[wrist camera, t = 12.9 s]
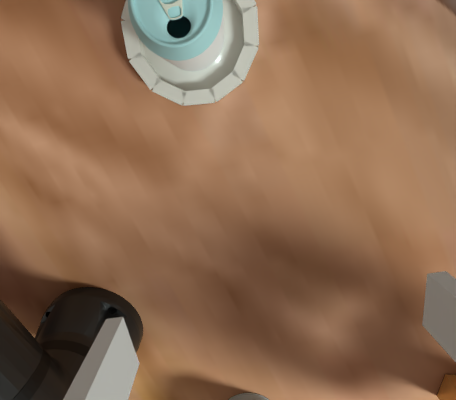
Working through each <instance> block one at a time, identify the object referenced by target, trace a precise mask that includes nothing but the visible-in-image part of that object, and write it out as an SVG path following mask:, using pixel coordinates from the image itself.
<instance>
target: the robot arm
mask: <svg viewBox="0 0 456 400" xmlns="http://www.w3.org/2000/svg"><path fill="white" fill-rule="evenodd" d="M422 325H423V326H424V328H425V329H426V330H427V331H428V332H429V333H430V334H431V335H432V336H433V338H434V339H435V340H436V341H437V342H438V343H439V344H440V345H441V347H442V348H443V349H444V350H445V351H446V352H447V353H448V354H449V355H450V357H451V358H452V359H453V360H454V361H455V362H456V279H455V278H454V277H453V276H451V275H450V274H449V273H447V272H446V271H444V272H437V273H430V274H427V282H426V293H425V303H424V313H423V323H422ZM142 336H143V324H142V321H141V318H140V316H139V314H138V312H137V311H136V309H135V308H134V307H133V306H132V305H131V304H130V303H129V302H128V301H127V300H125V299H124V298H122V297H121V296H119V295H117V294H115V293H113V292H111V291H108V290H105V289H100V288H93V287H82V288H76V289H72V290H69V291H67V292H65V293H63V294H61V295H60V296H59V297H57V298H56V299H55V300H54V302H53V303H52V304H51V305H50V306H49V307H48V309H47V310H46V312H45V313H44V315H43V317H42V320H41V324H40V326H39V328H38V331H37V334H36V337H35V338H34V337H33V336H32V335H31V334H30V332H29V331H28V330H27V329H26V328H25V327H24V326H23V325H22V323H21V322H20V321H19V320H18V319H17V318H16V317H15V316H14V314H13V313H12V312H11V311H10V310H9V309H8V308H7V307H6V305H5V304H4V303H3V302H2V301H1V300H0V400H128V398H129V395H130V392H131V388H132V385H133V382H134V379H135V376H136V372H137V369H138V366H139V361H138V358H137V355H136V352H137V350H138V348H139V345H140V342H141V340H142Z"/></svg>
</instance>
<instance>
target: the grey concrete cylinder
mask: <svg viewBox="0 0 456 400" xmlns="http://www.w3.org/2000/svg"><path fill="white" fill-rule="evenodd" d="M228 400H269V399H267V398H266V397H264V396H262V395H260V394H256V393H242V394H238V395H235V396H233V397H231V398H230V399H228Z"/></svg>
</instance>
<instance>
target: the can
mask: <svg viewBox="0 0 456 400" xmlns="http://www.w3.org/2000/svg"><path fill="white" fill-rule="evenodd" d="M128 11H129V16H130V20H131V23H132V26H133V28H134V30H135V32H136V34H137V36H138V37H139V39H140V40H141V41H142V43H143V44H144V45H145V46H146V47H147V48H148V49H149V50H151V51H152V52H153V53H155V54H156V55H158V56H160V57H161V58H163V59H164V60H166V61H168V62H169V63H171V64H173V65H174V66H176V67H178V68H179V69H182V70H185V71H191V72H193V71H200V70H203V69H205V68H207V67H209V66H210V65H212V64H213V63H214V62H215V61H216V59H217V58H218V56H219V55H220V53H221V50H222V48H223V44H224V17H223V1H222V0H128Z"/></svg>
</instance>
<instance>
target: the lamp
mask: <svg viewBox="0 0 456 400" xmlns="http://www.w3.org/2000/svg"><path fill="white" fill-rule="evenodd" d="M437 397H438V398H439V399H440V400H456V375H445V376H444V379H443V381H442V384H441V387H440V389H439V392H438V394H437Z"/></svg>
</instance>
